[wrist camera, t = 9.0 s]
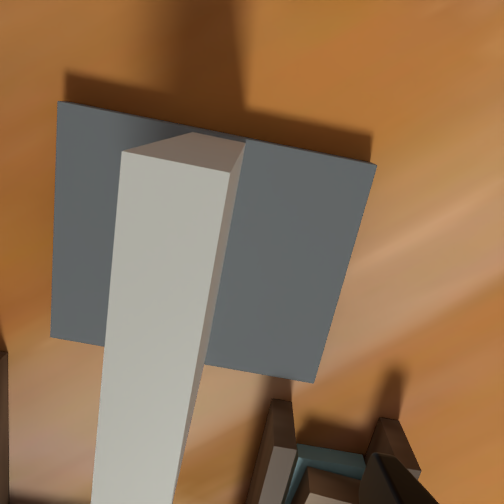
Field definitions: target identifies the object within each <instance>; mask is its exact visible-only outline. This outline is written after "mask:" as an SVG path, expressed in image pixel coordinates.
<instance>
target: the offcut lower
mask: <svg viewBox="0 0 504 504" xmlns="http://www.w3.org/2000/svg"><path fill="white" fill-rule="evenodd" d="M296 446H297V451H296V455H295V458H294V462H293V465H292V468H291V472H290V475H289V479H288V482H287V485H286V489H285V492H284V496H283V499H282V502H281V504H290V503H291V501H292V499H293V497H294V494H295V492H296V490H297V488H298V486H299V483H300V481H301V479H302V477H303V474H304V472H305V470H306V468H307V466H309V467H313V468H317V469H320V470H324V471H328V472H332V473H335V474H339V475H343V476H347V477H350V478H354V479H358V480H361V479H362V476H363V474H364V471H365V468H366V465H365V462H364V458H363V455H362V454H356V453H350V452H344V451H338V450H332V449H327V448H321V447H315V446H309V445H303V444H297V445H296Z"/></svg>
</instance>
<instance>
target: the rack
mask: <svg viewBox="0 0 504 504" xmlns="http://www.w3.org/2000/svg"><path fill="white" fill-rule="evenodd" d="M296 451H297V446H296V437H295V428H294V418H293V409H292V402H288V401H283V400H277V399H272V401H271V405H270V409H269V413H268V416H267V420H266V424H265V428H264V432H263V436H262V440H261V444H260V448H259V452H258V456H257V460H256V464H255V468H254V472H253V476H252V479H251V483H250V487H249V491H248V495H247V499H246V503H245V504H281V502H282V499H283V496H284V492H285V489H286V485H287V482H288V479H289V475H290V472H291V468H292V465H293V462H294V458H295V455H296ZM375 452H378V453H384V454H390V455H393V456H395V457H396V458H398V459H399V460H400V462H401V463H402V464H403V465H404V466H405V467H406V468H407V469H408V470H409V471H410V472H411V474H412V475H413V476H414V477H415V478H416V479H417V480H418V478H419V476H420V473H421V469H420V467H419V464H418V462H417V460H416V458H415V455H414V453H413V451H412V449H411V447H410V444H409V442H408V440H407V438H406V435H405V433H404V431H403V429H402V427H401V424H400V422H399V421H398V420H392V419H386V418H379V420H378V423H377V426H376V428H375V431H374V434H373V437H372V439H371V442H370V445H369V447H368V450H367V453H366V456H365V458H364V462H365V465H366V466H367V463H368V460H369V458H370V456H371V455H372V454H373V453H375ZM0 504H9V451H8V353H7V352H1V351H0Z"/></svg>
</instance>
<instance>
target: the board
mask: <svg viewBox="0 0 504 504" xmlns="http://www.w3.org/2000/svg"><path fill="white" fill-rule="evenodd" d="M245 144H246V143H244V142H239V141H234V140H229V139H224V138H219V137H215V136H210V135H205V134H200V133H195V132H191V133H187V134H183V135H180V136H176V137H172V138H168V139H165V140H161V141H157V142H154V143H150V144H146V145H142V146H139V147H135V148H131V149H127V150H124V151H122V154H121V165H120V177H119V188H118V200H117V211H116V222H115V234H114V245H113V257H112V268H111V280H110V291H109V302H108V314H107V325H106V337H105V348H104V359H103V371H102V382H101V394H100V405H99V417H98V428H97V439H96V451H95V462H94V474H93V485H92V496H91V504H172V503H173V498H174V494H175V490H176V485H177V481H178V476H179V472H180V468H181V463H182V459H183V454H184V450H185V446H186V441H187V437H188V432H189V428H190V424H191V419H192V415H193V410H194V406H195V402H196V397H197V393H198V388H199V384H200V380H201V375H202V371H203V366H204V362H205V358H206V353H207V349H208V344H209V338H210V333H211V328H212V322H213V317H214V311H215V306H216V301H217V295H218V290H219V284H220V279H221V274H222V268H223V263H224V258H225V252H226V247H227V241H228V236H229V231H230V225H231V220H232V214H233V209H234V204H235V198H236V193H237V188H238V182H239V177H240V171H241V166H242V161H243V155H244V150H245Z"/></svg>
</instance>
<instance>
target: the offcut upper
mask: <svg viewBox="0 0 504 504" xmlns="http://www.w3.org/2000/svg"><path fill="white" fill-rule="evenodd" d="M360 482H361V480H358V479H354V478H350V477H347V476H343V475H339V474H335V473H332V472H328V471H324V470H320V469H317V468H313V467H309V466H307V468H306V470H305V472H304V474H303V477H302V479H301V481H300V483H299V486H298V488H297V490H296V492H295V494H294V497H293V499H292V501H291V503H290V504H359V486H360Z"/></svg>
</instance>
